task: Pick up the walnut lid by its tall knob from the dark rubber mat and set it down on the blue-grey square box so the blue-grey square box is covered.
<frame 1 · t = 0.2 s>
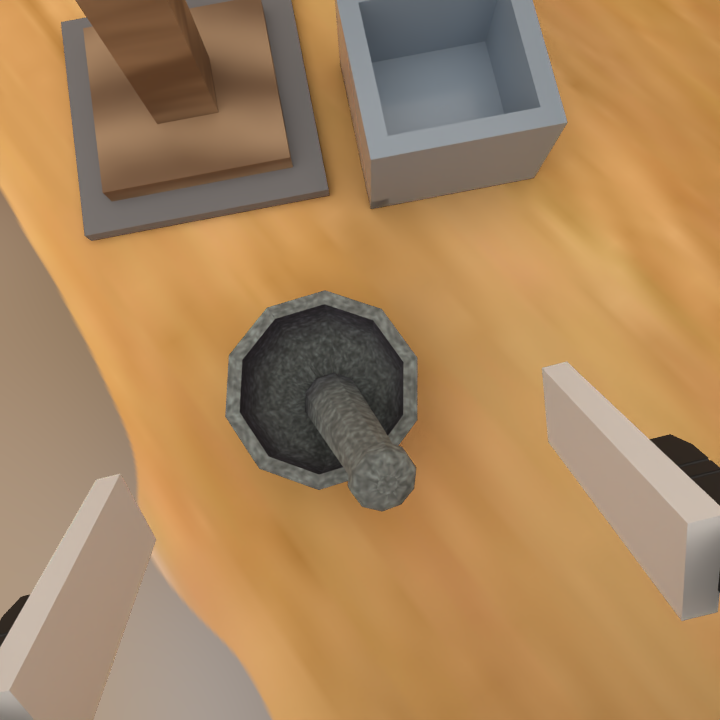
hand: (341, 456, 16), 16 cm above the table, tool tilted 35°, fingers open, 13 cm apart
lid: (190, 102, 35), point 1 cm above the table, touching mat
mortar and pestle: (338, 408, 33), on the table
blue-grey square box: (434, 119, 36), on the table
mat: (194, 110, 36), on the table
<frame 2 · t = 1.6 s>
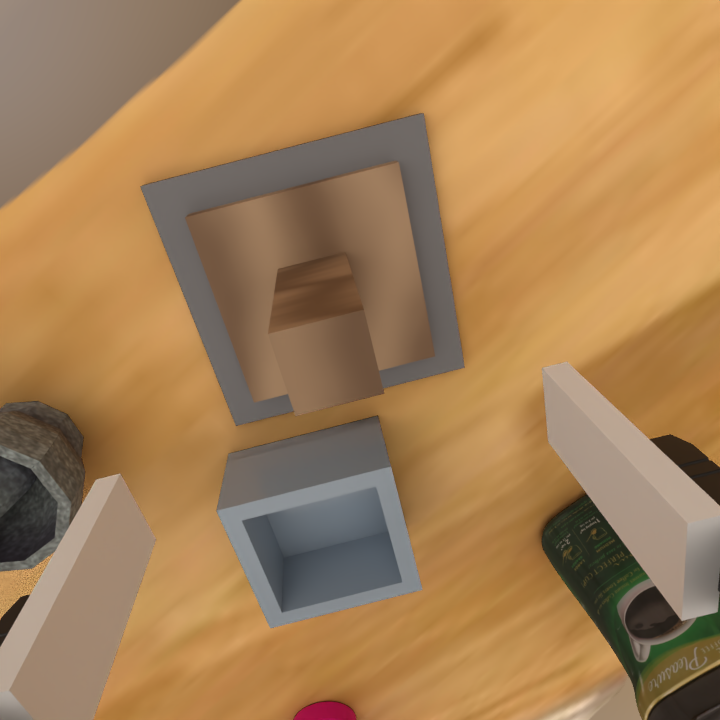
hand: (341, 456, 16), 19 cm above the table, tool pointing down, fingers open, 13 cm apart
pepper mill: (324, 718, 52), on the table
lid: (319, 286, 32), point 1 cm above the table, touching mat
mortar and pestle: (29, 444, 36), on the table
blue-grey square box: (322, 493, 40), on the table
mat: (319, 282, 33), on the table
coffee jar: (594, 520, 44), on the table
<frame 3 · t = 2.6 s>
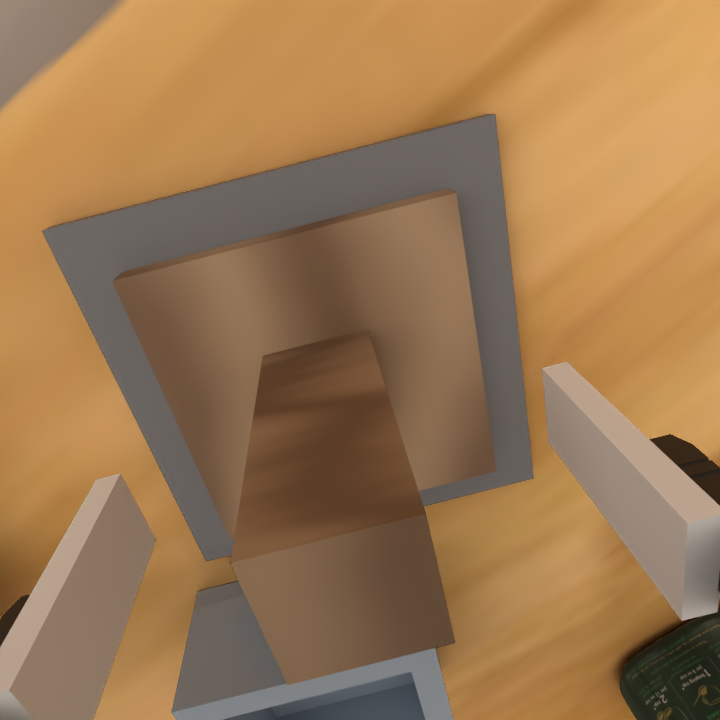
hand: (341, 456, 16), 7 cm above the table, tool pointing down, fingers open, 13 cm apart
lid: (327, 374, 21), point 1 cm above the table, touching mat
blue-grey square box: (329, 634, 29), on the table
mat: (326, 365, 22), on the table
coffee jar: (687, 652, 33), on the table
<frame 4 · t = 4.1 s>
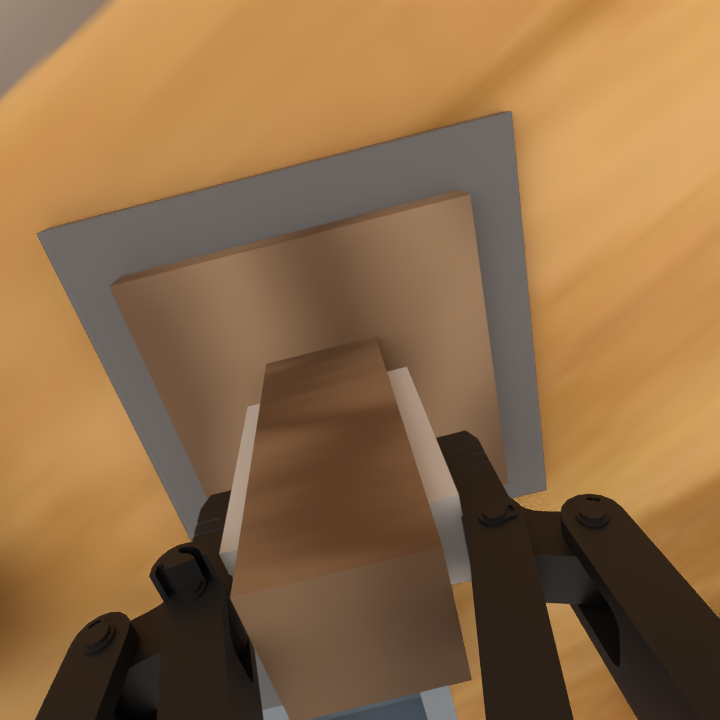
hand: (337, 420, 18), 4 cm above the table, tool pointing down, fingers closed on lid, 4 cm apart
lid: (333, 382, 21), point 1 cm above the table, touching gripper, mat
blue-grey square box: (334, 647, 28), on the table
mat: (332, 373, 21), on the table
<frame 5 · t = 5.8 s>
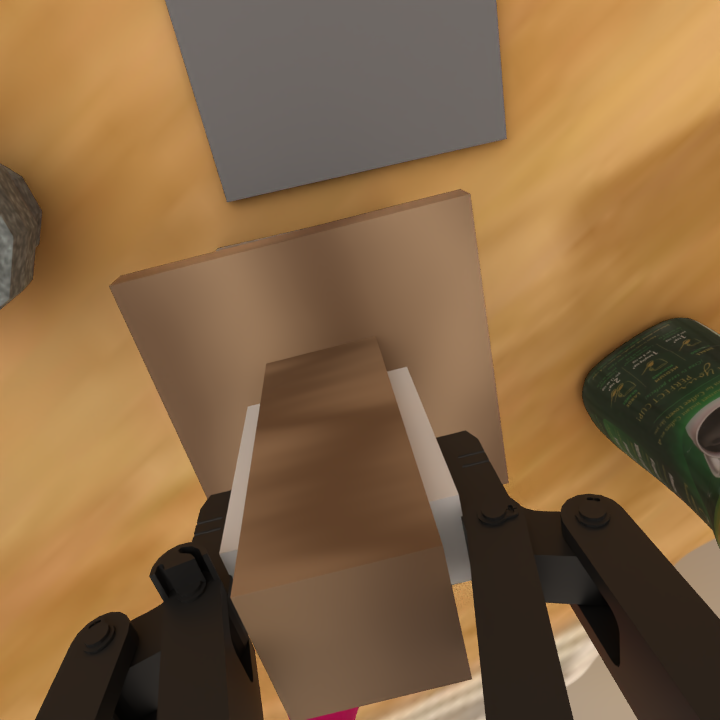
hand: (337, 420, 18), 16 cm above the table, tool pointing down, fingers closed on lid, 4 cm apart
pepper mill: (320, 615, 45), on the table
lid: (333, 382, 21), point 13 cm above the table, touching gripper
mat: (334, 5, 27), on the table
coffee jar: (643, 374, 38), on the table
when the fingers open (10 cm above the table, at t = 7.5 s): lid drops 1 cm, resting on blue-grey square box.
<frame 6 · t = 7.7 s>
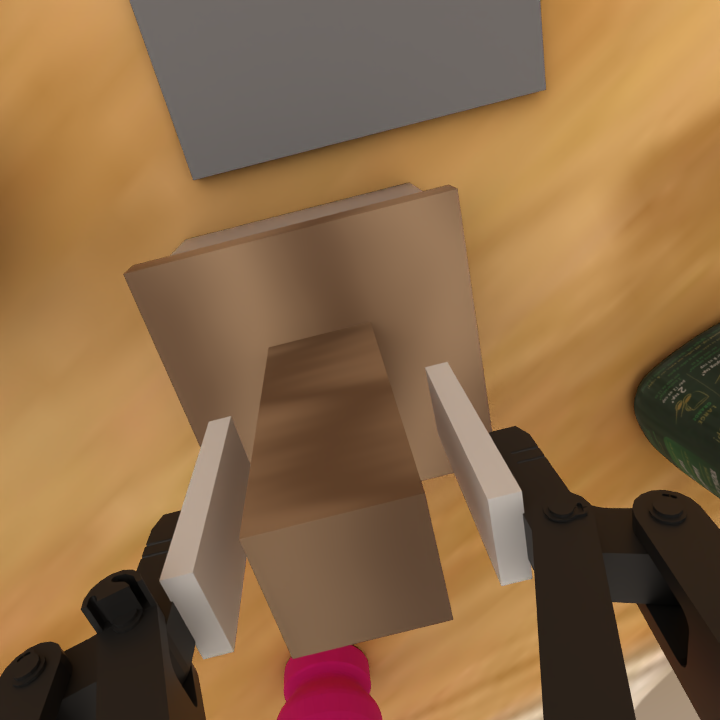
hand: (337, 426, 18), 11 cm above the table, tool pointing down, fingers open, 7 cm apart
pepper mill: (326, 665, 39), on the table
lid: (331, 366, 22), point 6 cm above the table, touching blue-grey square box
blue-grey square box: (326, 316, 27), on the table
coffee jar: (705, 380, 32), on the table
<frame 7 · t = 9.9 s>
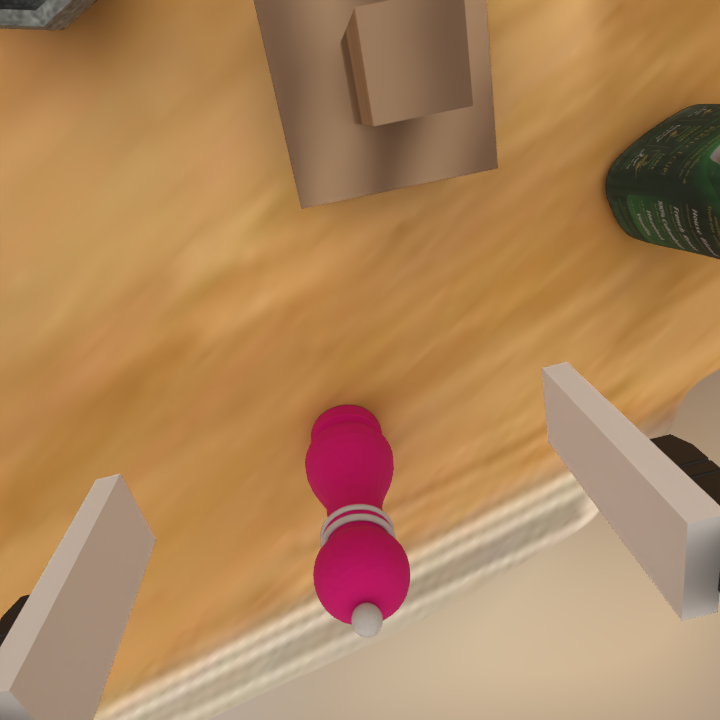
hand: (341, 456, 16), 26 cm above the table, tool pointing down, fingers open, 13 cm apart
pepper mill: (346, 433, 47), on the table
lid: (380, 78, 30), point 6 cm above the table, touching blue-grey square box
coffee jar: (663, 174, 40), on the table
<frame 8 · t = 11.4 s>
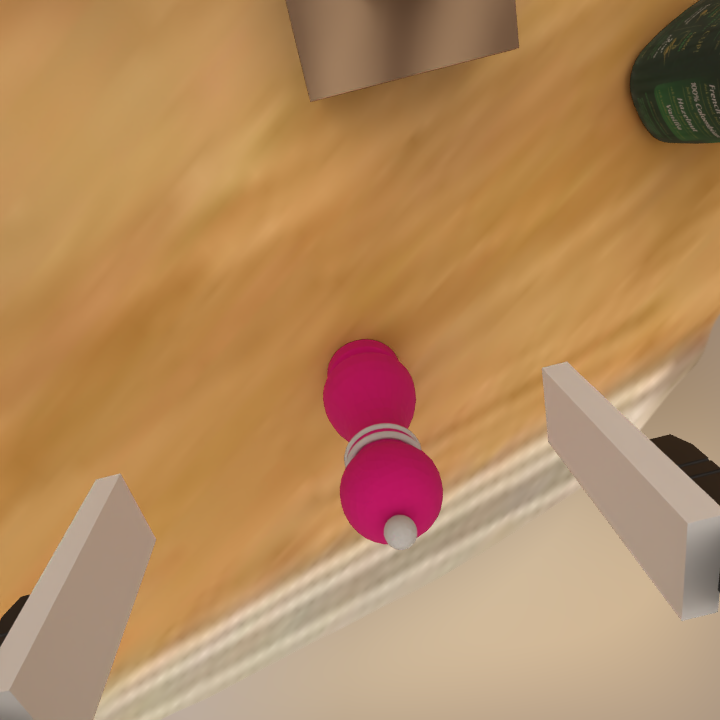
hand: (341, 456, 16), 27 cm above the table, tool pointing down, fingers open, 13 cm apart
pepper mill: (363, 371, 45), on the table
coffee jar: (690, 70, 37), on the table
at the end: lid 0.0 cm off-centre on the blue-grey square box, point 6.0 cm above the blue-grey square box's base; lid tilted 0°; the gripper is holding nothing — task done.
